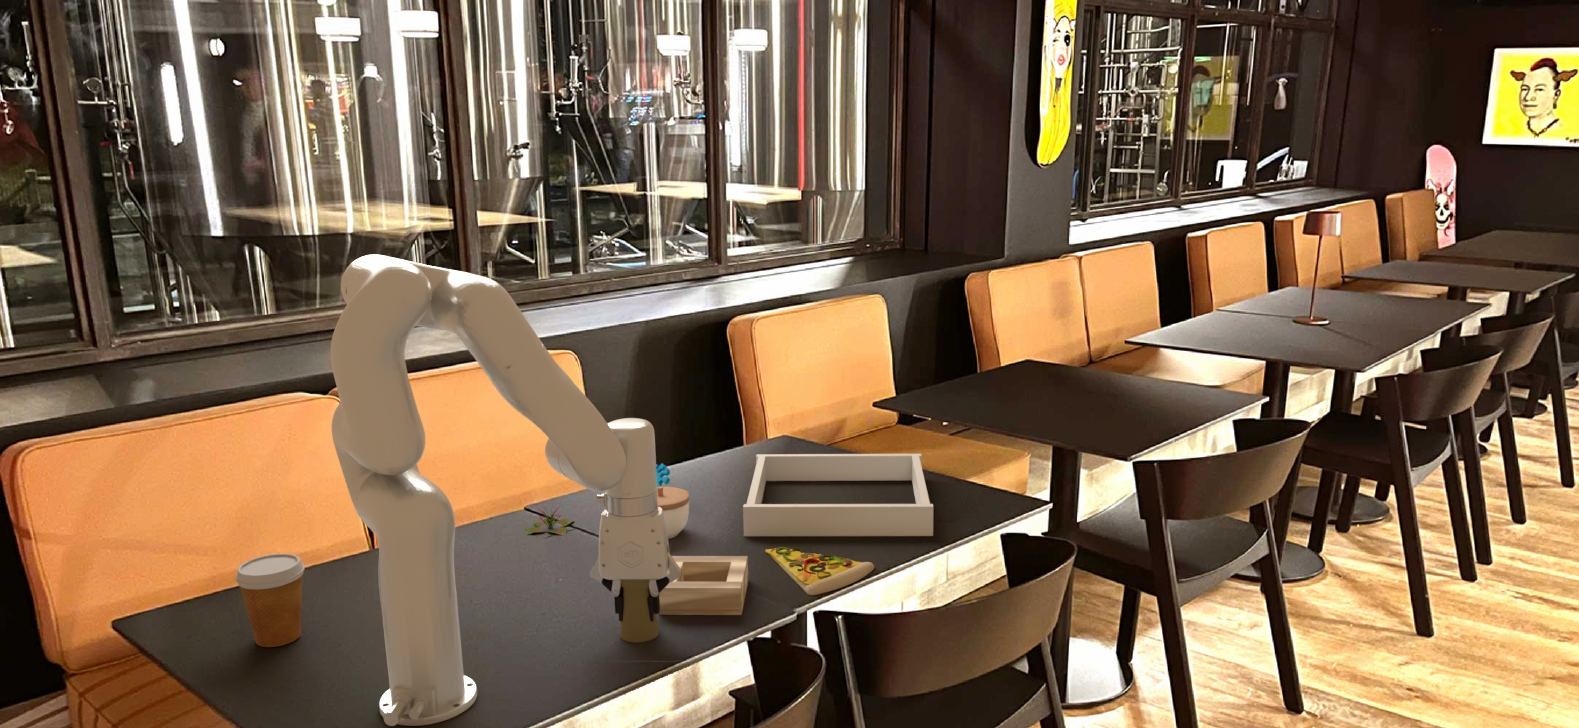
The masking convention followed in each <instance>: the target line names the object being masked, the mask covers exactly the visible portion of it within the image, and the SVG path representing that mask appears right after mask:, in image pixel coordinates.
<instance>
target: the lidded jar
mask: <svg viewBox="0 0 1579 728" xmlns="http://www.w3.org/2000/svg"><path fill="white" fill-rule="evenodd" d="M657 498H658V507H661V508H662V511H663V514H664V518H665V523H666V528H667V534H668V540H669V539H672V538H674V537H677V536H678V535H679V534H680V533H681V532H682V531H683V530H684V528H686V527H685V526H686V525H687V522H688V520H689V515H690V493H689V492H688V491H687V490H685V489H683V488H679V487H674V486H673V487H672V486H662V487H657Z"/></svg>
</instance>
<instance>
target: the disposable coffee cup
mask: <svg viewBox="0 0 1579 728" xmlns="http://www.w3.org/2000/svg"><path fill="white" fill-rule="evenodd" d="M305 567H306V566H305V564H304V563H303V562H302V560H301V557H300V556H299V555H298V554H297V555H296V554H294V553H293V554H292V553H270V554H264V555H260V556H258V557H257V556H256V557H254V558H251V559H249V560H246V561H245V562H243V563H242V564H239V566H238V567H237V573H236V575H235V578H234V580H235V582H236V583H237V585H238V586H239V587H240V591H241V594H242V599H243V601H244V606H245V609H246V612H247V616H248V619H249V622H250V626H251V630H252V633H253V637H254V641H255V643H256V645H257V646H260V647H262V648H273V647H280V646H281V647H282V646H284V645H288V644H290V643H293V642H294V641H296V640H297V639H299V638H300V637H301V635H302V599H303V598H302V597H303V593H302V592H303V589H302V588H303V575H304V571H305V570H306V569H305Z"/></svg>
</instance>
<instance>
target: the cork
mask: <svg viewBox="0 0 1579 728" xmlns="http://www.w3.org/2000/svg"><path fill="white" fill-rule="evenodd" d="M620 582H621V586H622V587H623V621H619V622H620V623H619V633H618V634H619V638H620V639H621V640H623V641H625V642H627V643H628V642H629V643H637V644H639V643H645V642H646V643H647V642H649V641H652V640H654V639H656V638H657V637H658V636H659V635H660V628H659V627H660V626H659V622H658V618H657V614H654V621H650V617H649V608H648V601H647V598H648V597H649V595H650V594H649V591H650V589H649V582H650V580H620Z"/></svg>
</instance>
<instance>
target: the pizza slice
mask: <svg viewBox="0 0 1579 728" xmlns="http://www.w3.org/2000/svg"><path fill="white" fill-rule="evenodd" d="M765 553H766V554H768V555H769V556H770V557H771V558H772V560H774V561H775V562H776V564H778V565H779V567H781V569H783V570H784V571H785V572H786V573H787V574H788V575H789V576H790V578H791V579H793V581H795V583H796V584H798V585H799V586H800V588H802V589H803V590H804V592H805V593H806V594H807V595H809V596H817V595H821V594H825V593H828V592H831V591H835V590H839V589H841V588H843V587H847V586H849V585H851V584H854V583H855V582H858V581H859V580H861V579H862V578H865V577H866V576H867V575H869V574H870V573H872V572H873V570H874V569H875V565H874V564H873V563H872V562H870V561H863V562H862V561H855V560H853V559H851V558H847V557H846V558H845V557H837V556H835V555H833V554H821V553H819V554H817V553H814V552H813V553H812V552H803V550H802V549H800V548H794V549H792V548H789V547H786V546H779V547H778V546H777V547H774V548H769V549H768V548H767V549H765Z"/></svg>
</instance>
